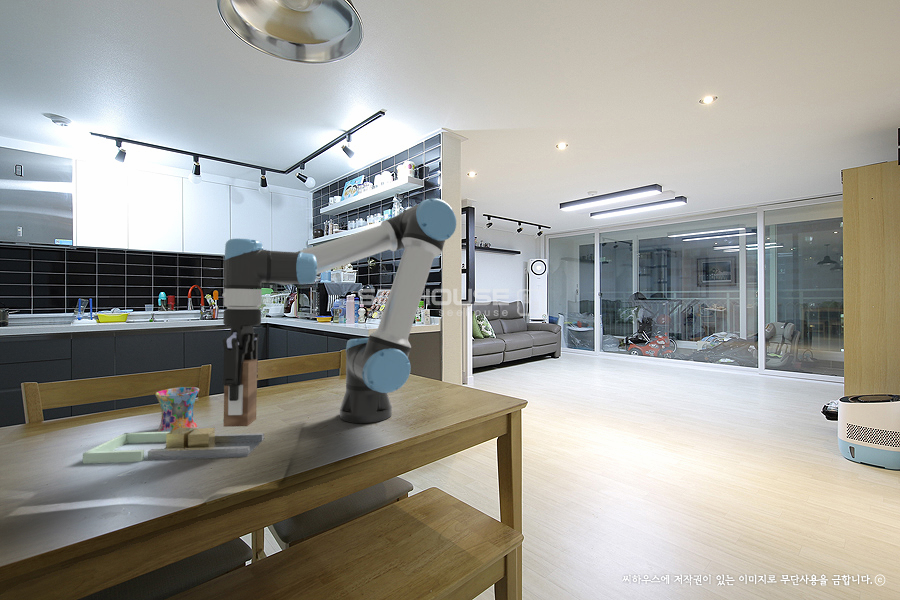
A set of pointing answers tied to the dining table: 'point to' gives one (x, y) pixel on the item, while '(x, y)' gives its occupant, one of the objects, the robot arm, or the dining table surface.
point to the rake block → (244, 397)
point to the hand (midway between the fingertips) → (240, 410)
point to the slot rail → (213, 448)
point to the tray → (107, 454)
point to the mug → (177, 408)
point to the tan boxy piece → (201, 438)
